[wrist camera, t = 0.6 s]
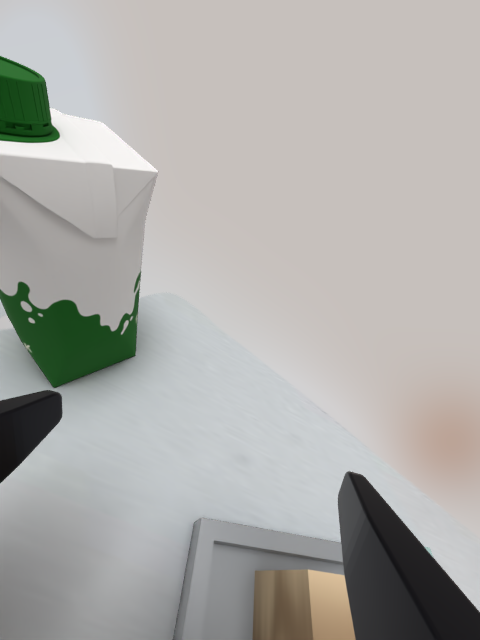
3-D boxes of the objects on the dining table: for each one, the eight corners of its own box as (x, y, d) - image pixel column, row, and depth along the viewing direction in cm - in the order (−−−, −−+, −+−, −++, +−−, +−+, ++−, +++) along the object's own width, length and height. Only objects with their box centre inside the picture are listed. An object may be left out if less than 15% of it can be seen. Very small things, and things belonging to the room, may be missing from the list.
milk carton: (13, 328, 23) (-125, 6, 10) (112, 304, 29) (108, 80, 16) (44, 403, 20) (-99, 69, 7) (149, 358, 26) (183, 133, 13)
